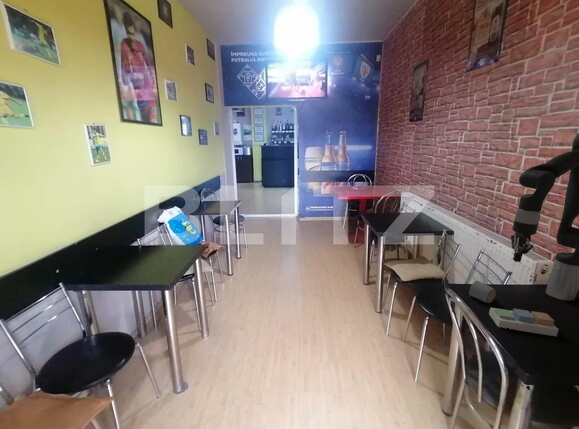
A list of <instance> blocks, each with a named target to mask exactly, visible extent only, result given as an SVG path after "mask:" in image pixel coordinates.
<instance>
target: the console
mask: <svg viewBox="0 0 579 429" xmlns="http://www.w3.org/2000/svg"><path fill="white" fill-rule="evenodd" d="M496 309H498V308H496ZM503 310H505V308H503ZM509 311H510V312H511V313H512V312H513V310H510V309H509ZM488 315H489V316H490V318H491V319H492V321H493V322H494V324H495V325H496V326H497V327H498V328H501V327H502V328H503V329H507V328H509V330H513V329H514V330H515V331H520V332H525V333H526V332H527V333H533V334H539V335H545V336H550V337H552V336H553V337H558V332H559V330H560V329H559V328H558V327H557V326H556V325H555V324H553V326H548V325H542V324H537V323H536V322H535V321H534V323H529V322H522V321H518V320H517V319H516V318H515V320H509V319H503V318H499V317H498V315H497V314H496V313H495V307H490V308H489V311H488ZM514 330H513V331H514Z"/></svg>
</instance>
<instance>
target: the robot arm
mask: <svg viewBox="0 0 579 429" xmlns="http://www.w3.org/2000/svg"><path fill="white" fill-rule="evenodd" d="M567 172H569V176H568V183H567V187H566V193H565V197H564V206H563V211H562V216H561V219H560V222H559V226H558V229H557V232H556V233H557V234H556V238H555V239H556V244H558V245H559V246H563V247H567V248H571V249H574V251H573V252H559V253H556V255H555V258H554V261H553V262H554V263H553V266H552V269H551V272H550V276H549V278H548V279H549V280H548V282H547V286H546V289H545V293H546V294H547V295H548V296H550V297H552V298H555V299H558V300H561V301H565V302H566V301H575V300H576V295H577V293H578V290H579V228H578V227H574V226H573V223H574V221H575V219H576V218H578V216H579V132H578V133H577V134H576V135H575V136H574V139H573V142H572V146H571V150H570V151H567V152H564V153H561V154H558V155H556V156H554V157H553V158H551V159H550V160H548V161H546V162H545V163H542V164H538V165H535V166H532V167H530V168H527V169H526V170H524V171H522V173H521V174H520V175H519V178H518V183H519V184H520V185H521V186H522V187H524V188H528V189H535V191H534V192H533V193H525V194H522V195H521V196H520V199H519V203H518V208H517V210H516V212H515V217H514V221H513V225H512V229H511V230H512V231H514V234H513V235H512V234H511V235H510V240H511V248H512V249H513V256H512V260H513V261H514V262H515V263H521V261H522V258H523V255H527V254H528V253H529V252H530V251H532V249H533V248H534V244H531V241H532V236H533V235H534V236H535V235H536V234H537V232H538V227H539V223H540V220H541V212H542V208H543V205H544V201H545V199H546V198H547V197H548V195H549V193H550V192H551V190H552V188H553V187H554V185H555V183H556V179H558V178H560V177H561V176H563V175H564V174H567Z"/></svg>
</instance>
